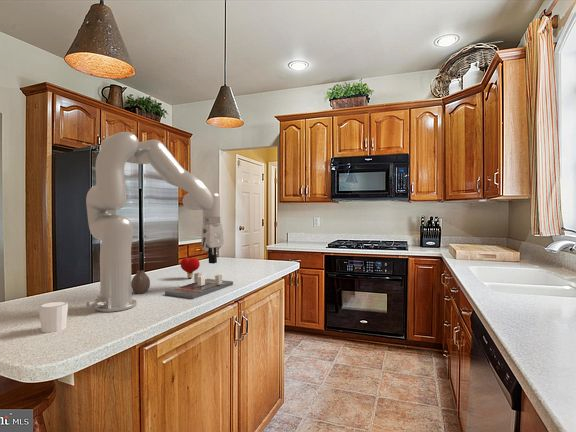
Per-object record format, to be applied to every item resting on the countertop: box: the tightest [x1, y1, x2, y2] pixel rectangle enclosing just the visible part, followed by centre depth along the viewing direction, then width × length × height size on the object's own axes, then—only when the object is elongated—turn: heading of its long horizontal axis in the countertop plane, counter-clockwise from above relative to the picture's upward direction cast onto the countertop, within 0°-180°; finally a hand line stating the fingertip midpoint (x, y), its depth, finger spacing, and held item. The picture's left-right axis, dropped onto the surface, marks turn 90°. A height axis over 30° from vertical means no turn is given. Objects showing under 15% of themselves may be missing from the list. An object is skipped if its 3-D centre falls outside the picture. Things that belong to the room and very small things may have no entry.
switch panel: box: [164, 272, 234, 300], centre depth 140 cm, size 26×14×6 cm, turn 155°
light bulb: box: [180, 257, 201, 279], centre depth 163 cm, size 9×7×10 cm
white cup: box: [38, 300, 69, 334], centre depth 94 cm, size 7×7×7 cm
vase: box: [131, 269, 151, 295], centre depth 135 cm, size 7×7×9 cm
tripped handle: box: [197, 275, 206, 286], centre depth 140 cm, size 2×2×4 cm
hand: (212, 262), depth 146 cm, fingers closed
